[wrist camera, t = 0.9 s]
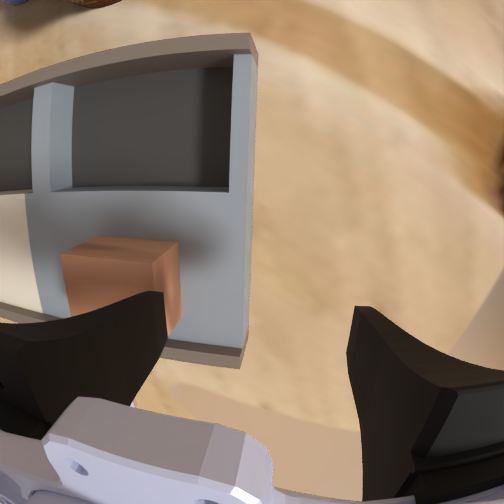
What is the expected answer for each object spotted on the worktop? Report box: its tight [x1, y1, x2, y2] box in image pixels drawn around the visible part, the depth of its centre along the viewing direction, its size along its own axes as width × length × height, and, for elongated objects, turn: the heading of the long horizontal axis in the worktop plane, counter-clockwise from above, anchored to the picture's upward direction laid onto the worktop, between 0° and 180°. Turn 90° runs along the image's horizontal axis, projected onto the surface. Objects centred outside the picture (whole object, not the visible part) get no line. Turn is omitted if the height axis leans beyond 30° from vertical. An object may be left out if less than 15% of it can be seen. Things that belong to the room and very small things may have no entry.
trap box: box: [0, 33, 258, 369], centre depth 20 cm, size 20×30×4 cm, turn 88°
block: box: [60, 236, 182, 336], centre depth 18 cm, size 5×6×4 cm
